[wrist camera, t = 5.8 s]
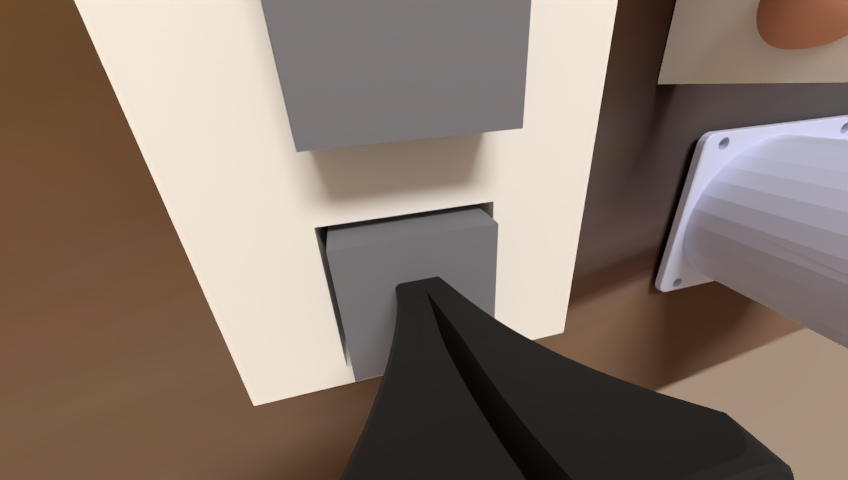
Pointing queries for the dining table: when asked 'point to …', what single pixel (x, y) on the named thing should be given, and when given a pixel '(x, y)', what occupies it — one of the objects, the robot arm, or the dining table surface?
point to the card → (756, 42)
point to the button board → (341, 175)
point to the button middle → (399, 68)
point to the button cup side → (406, 271)
